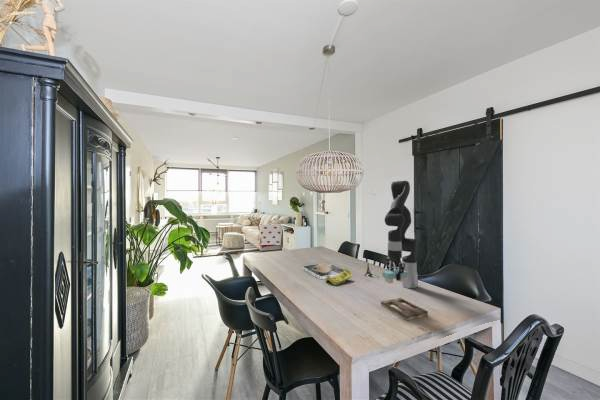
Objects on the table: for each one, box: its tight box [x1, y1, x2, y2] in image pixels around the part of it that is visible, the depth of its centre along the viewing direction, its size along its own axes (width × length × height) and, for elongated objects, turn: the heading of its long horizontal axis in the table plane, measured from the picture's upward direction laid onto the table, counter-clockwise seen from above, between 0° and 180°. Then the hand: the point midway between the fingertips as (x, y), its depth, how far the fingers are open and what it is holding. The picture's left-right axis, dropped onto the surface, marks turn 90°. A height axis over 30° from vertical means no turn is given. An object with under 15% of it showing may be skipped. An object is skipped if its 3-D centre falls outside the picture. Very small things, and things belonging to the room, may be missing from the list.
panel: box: [382, 269, 407, 284], centre depth 151 cm, size 13×5×6 cm, turn 109°
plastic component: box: [325, 268, 353, 286], centre depth 198 cm, size 20×7×10 cm
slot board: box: [380, 297, 429, 321], centre depth 146 cm, size 14×20×2 cm
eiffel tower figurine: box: [364, 263, 380, 279], centre depth 212 cm, size 15×10×13 cm
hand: (394, 278), depth 151 cm, fingers closed on panel, 5 cm apart
